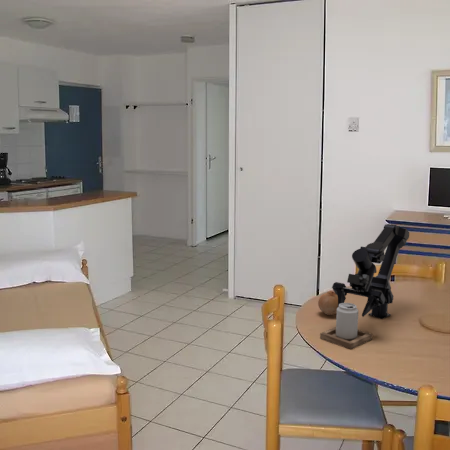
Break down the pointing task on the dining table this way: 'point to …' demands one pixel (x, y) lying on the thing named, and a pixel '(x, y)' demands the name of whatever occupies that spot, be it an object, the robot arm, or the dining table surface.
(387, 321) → the dining table surface
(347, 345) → the brown wooden tray
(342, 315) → the can
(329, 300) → the onion
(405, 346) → the dining table surface
